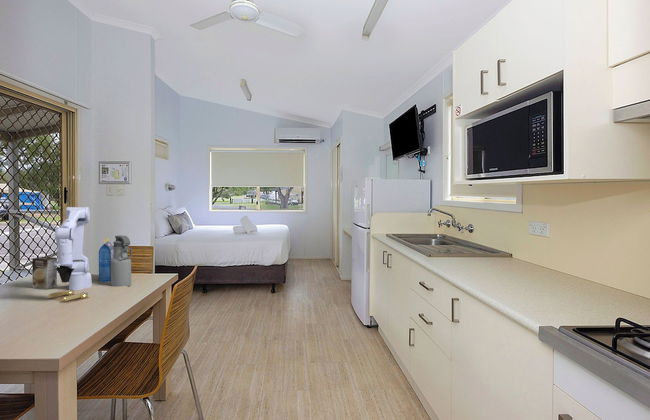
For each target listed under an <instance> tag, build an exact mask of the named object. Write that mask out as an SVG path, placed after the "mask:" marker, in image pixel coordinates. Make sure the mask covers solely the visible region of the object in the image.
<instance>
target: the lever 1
mask: <svg viewBox="0 0 650 420" xmlns="http://www.w3.org/2000/svg"><path fill="white" fill-rule="evenodd" d="M74 294H75V290H69V289H65V290H61V291H57V292H52V293H49V294H48V296H47V297H48V298H52V297H57V296H61V295H64V296H70V295H74Z"/></svg>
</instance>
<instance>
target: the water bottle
mask: <svg viewBox="0 0 650 420" xmlns="http://www.w3.org/2000/svg"><path fill="white" fill-rule="evenodd" d="M114 238H115V241H113V249H114V259H112V260H111V281H110V286H111V287H117V288H119V287H130V286H131V285H132V260H131V258H132V256H133V249H132V248H130V247H129V246H131V240H130V238H129V236H127V235H115V236H114ZM129 253H130V254H129Z"/></svg>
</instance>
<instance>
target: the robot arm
mask: <svg viewBox="0 0 650 420" xmlns="http://www.w3.org/2000/svg"><path fill="white" fill-rule="evenodd" d="M64 212H65V215H64V216H65V219H64V220H63V221H62V223H61V225H60V227H58V228H56V229H55V232H54V237H55V244H56V246H57V247H56V249H57V250H56V251H57V257H56V258H57V261H55V262H54V266H58V267H57V268H56V270H57V274H59V277H60V280H61V283H62V284H63V283H64V284H65V283H68V290H74V291H79V290H83V289H84V290H85V289H87V288H88V289H89V288H92V286H93V285H92V284H93V283H92V278H93V277H92V274H91V273H90V272H89V271H90V259H89V258H88V256H86V255H84V243H85V242H84V241H85V227H86V225H87V224H89V223H90V219H91V218H90V216H91V211H90V207H89V206H86V207H85V206H84V207H83V206H71V207H70V206H67V207H66V208H65V211H64Z"/></svg>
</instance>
